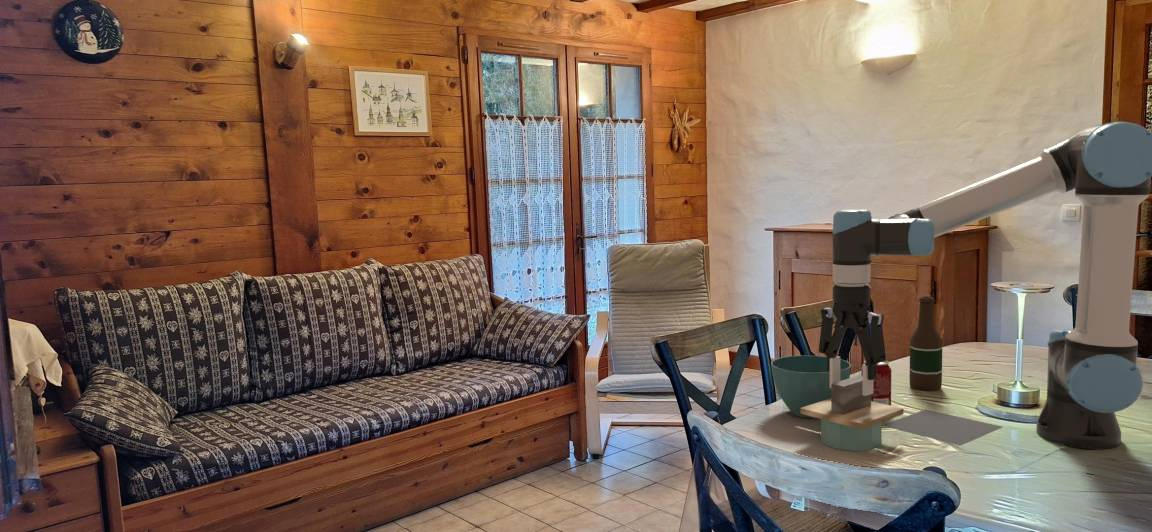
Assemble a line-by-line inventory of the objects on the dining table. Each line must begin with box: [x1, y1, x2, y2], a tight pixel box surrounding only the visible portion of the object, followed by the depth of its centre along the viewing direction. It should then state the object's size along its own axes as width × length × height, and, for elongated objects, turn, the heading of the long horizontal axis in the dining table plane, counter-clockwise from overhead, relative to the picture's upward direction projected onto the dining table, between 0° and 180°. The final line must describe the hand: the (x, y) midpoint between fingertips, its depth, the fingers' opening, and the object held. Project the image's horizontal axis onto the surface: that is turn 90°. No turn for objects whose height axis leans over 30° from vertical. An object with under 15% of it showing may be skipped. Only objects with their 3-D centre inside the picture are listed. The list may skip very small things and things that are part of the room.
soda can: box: [860, 359, 892, 406], centre depth 192 cm, size 7×7×12 cm
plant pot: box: [770, 355, 852, 419], centre depth 191 cm, size 18×18×12 cm
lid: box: [800, 374, 905, 430], centre depth 171 cm, size 15×15×7 cm
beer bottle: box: [909, 296, 943, 392], centre depth 210 cm, size 8×8×24 cm
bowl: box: [820, 419, 883, 452], centre depth 171 cm, size 12×12×6 cm
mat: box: [882, 409, 1003, 446], centre depth 178 cm, size 18×18×1 cm
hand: (851, 390), depth 171 cm, fingers open, 7 cm apart
